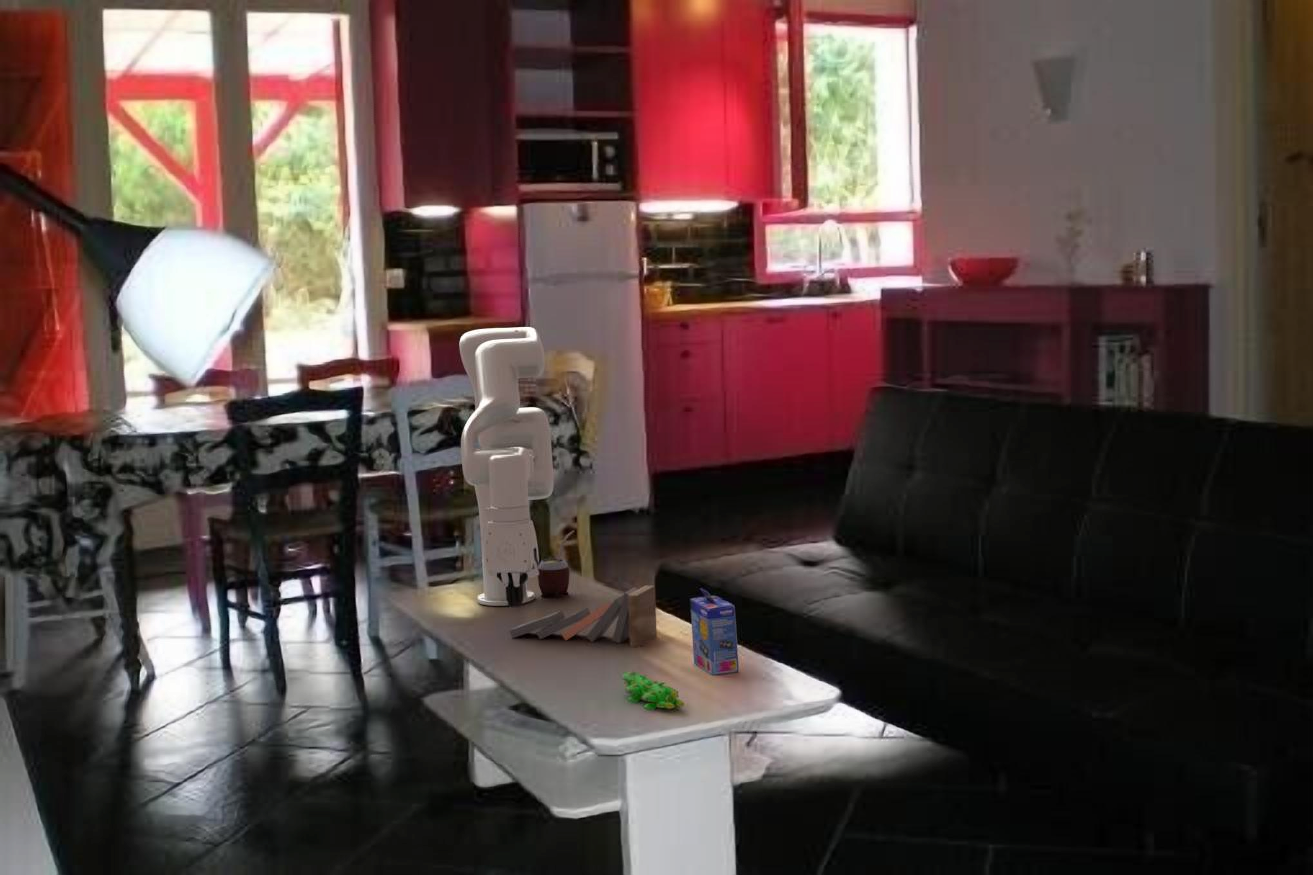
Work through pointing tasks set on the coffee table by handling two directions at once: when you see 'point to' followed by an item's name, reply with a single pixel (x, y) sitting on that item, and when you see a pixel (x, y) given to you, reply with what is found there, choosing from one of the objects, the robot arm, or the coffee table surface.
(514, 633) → the domino
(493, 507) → the robot arm
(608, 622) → the domino
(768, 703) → the coffee table surface
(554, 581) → the mate gourd
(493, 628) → the coffee table surface
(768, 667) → the coffee table surface
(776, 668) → the coffee table surface
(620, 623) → the domino
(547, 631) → the domino
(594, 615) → the domino
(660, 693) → the green bumpy elongated piece
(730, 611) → the ink cartridge box
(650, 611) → the end post
